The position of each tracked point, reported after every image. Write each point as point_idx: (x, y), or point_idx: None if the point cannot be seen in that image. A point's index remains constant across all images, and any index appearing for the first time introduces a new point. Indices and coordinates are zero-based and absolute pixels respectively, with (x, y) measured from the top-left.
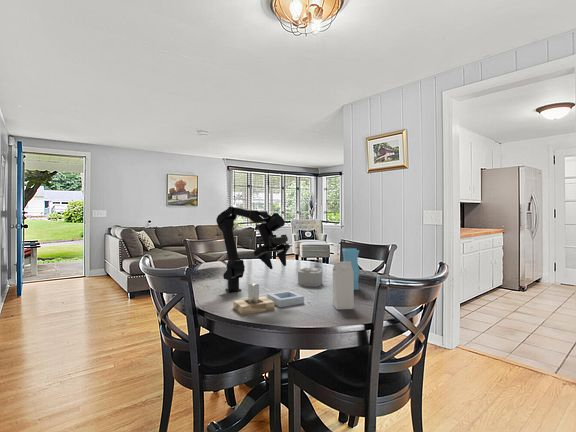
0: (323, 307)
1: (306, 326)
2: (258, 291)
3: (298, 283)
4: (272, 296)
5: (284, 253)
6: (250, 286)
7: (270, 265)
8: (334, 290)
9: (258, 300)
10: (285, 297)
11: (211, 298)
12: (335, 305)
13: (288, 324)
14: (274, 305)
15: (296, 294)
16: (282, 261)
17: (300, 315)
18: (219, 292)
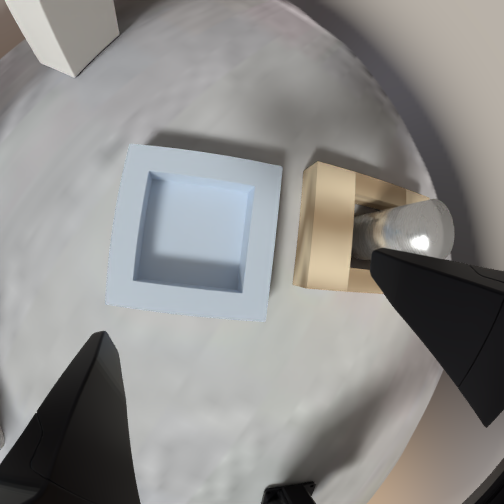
0: (125, 71)
1: (302, 15)
2: (401, 207)
3: (2, 438)
4: (273, 252)
5: (24, 492)
6: (449, 218)
7: (416, 260)
8: (84, 12)
9: (374, 213)
10: (159, 281)
11: (391, 432)
12: (107, 38)
13: (335, 48)
14: (310, 166)
15: (134, 199)
16: (114, 416)
17: (262, 60)
18: (335, 488)
